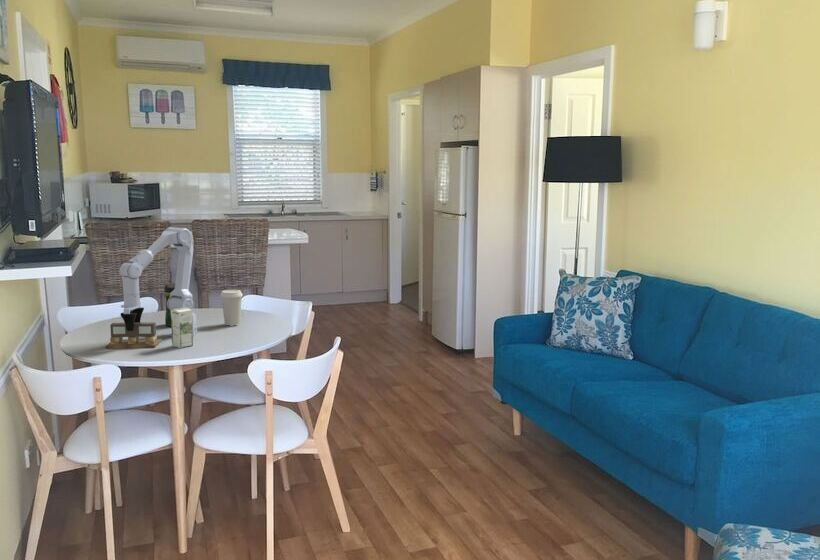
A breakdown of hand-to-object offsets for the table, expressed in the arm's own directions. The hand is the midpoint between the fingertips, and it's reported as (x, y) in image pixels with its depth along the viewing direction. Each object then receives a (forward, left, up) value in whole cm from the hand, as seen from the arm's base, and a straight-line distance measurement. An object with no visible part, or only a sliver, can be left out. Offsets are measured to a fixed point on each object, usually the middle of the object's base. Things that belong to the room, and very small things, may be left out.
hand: (133, 328), depth 265 cm
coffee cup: (-32, -34, -7) cm, 47 cm away
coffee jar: (-8, -35, -7) cm, 37 cm away
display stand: (0, 0, -6) cm, 6 cm away
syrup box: (-19, +3, -7) cm, 20 cm away
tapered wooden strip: (0, 0, -3) cm, 3 cm away
